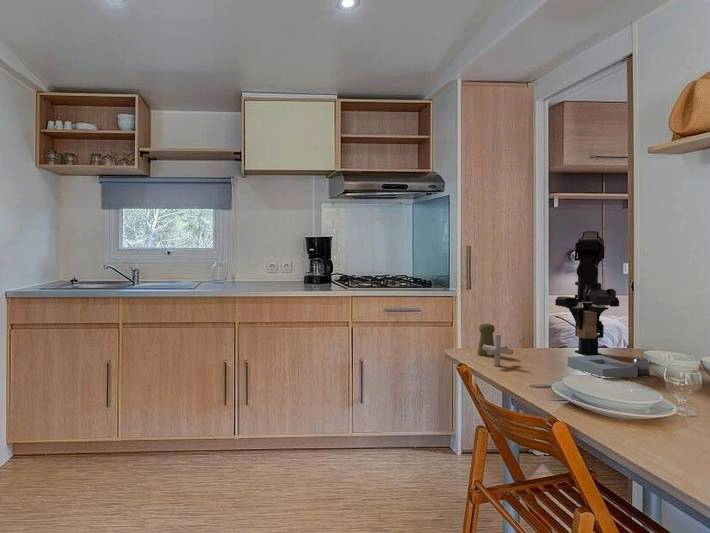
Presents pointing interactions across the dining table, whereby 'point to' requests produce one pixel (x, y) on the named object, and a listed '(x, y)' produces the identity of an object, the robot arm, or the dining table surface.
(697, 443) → the dining table surface
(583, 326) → the square peg
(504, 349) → the pipe connector
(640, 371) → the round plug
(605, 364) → the bore block
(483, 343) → the dark green pepper mill
